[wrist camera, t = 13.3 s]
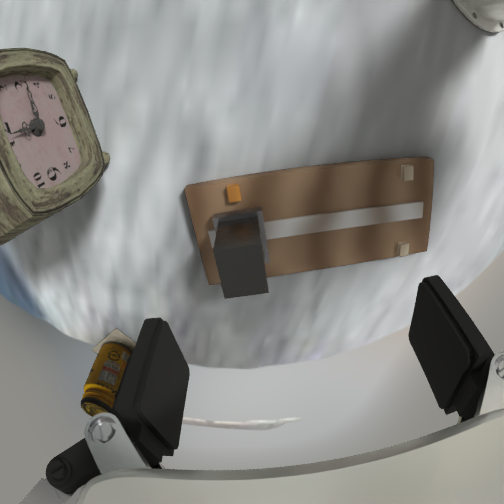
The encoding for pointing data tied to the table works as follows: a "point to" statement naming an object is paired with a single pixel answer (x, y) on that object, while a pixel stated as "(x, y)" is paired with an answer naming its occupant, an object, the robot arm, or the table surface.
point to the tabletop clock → (42, 140)
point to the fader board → (324, 212)
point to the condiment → (106, 373)
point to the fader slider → (241, 252)
